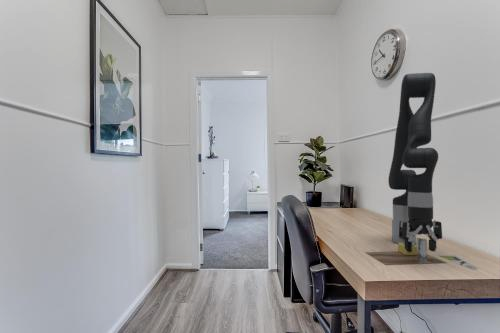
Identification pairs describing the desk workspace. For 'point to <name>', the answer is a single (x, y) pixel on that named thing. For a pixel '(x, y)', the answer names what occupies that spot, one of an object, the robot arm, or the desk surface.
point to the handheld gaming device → (457, 260)
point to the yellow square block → (402, 249)
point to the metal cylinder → (421, 250)
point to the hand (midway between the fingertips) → (420, 251)
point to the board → (400, 258)
